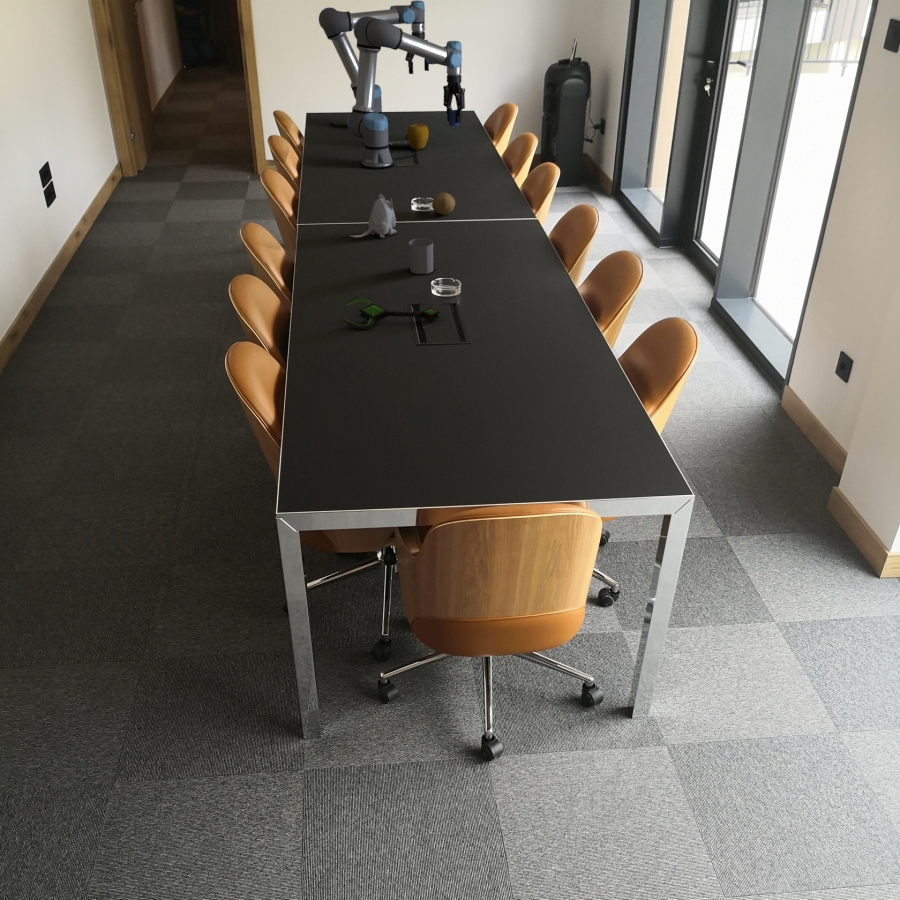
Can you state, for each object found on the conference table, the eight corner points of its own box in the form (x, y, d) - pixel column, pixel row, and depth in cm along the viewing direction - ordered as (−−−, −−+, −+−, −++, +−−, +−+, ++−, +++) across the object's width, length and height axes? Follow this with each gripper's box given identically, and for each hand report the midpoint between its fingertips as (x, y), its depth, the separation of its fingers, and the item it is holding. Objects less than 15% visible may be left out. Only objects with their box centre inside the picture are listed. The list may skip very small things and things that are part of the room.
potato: (453, 208, 369) (453, 189, 365) (456, 218, 357) (456, 199, 353) (431, 208, 368) (430, 189, 364) (432, 218, 356) (432, 199, 352)
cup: (409, 265, 311) (408, 238, 306) (432, 265, 312) (431, 238, 307) (410, 274, 304) (409, 246, 299) (433, 273, 305) (433, 246, 299)
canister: (460, 125, 454) (460, 111, 450) (449, 126, 453) (449, 112, 449) (458, 123, 458) (458, 109, 455) (448, 123, 458) (448, 109, 454)
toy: (402, 233, 342) (401, 194, 333) (358, 248, 327) (355, 208, 319) (387, 227, 347) (385, 190, 339) (342, 242, 332) (339, 203, 324)
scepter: (439, 293, 272) (343, 290, 270) (440, 323, 265) (342, 321, 263) (438, 306, 277) (344, 304, 275) (439, 336, 270) (342, 334, 268)
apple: (428, 151, 450) (427, 125, 443) (407, 151, 450) (406, 125, 443) (429, 146, 459) (428, 121, 452) (408, 146, 459) (408, 120, 452)
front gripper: (472, 75, 439) (472, 123, 452) (446, 71, 450) (446, 118, 463) (462, 77, 435) (462, 125, 447) (435, 73, 445) (436, 120, 458)
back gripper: (408, 34, 476) (409, 75, 488) (437, 29, 492) (437, 70, 504) (398, 33, 480) (399, 74, 492) (427, 28, 496) (428, 68, 508)
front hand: (454, 121), depth 455 cm, fingers closed on canister, 6 cm apart
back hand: (418, 72), depth 498 cm, fingers open, 13 cm apart
